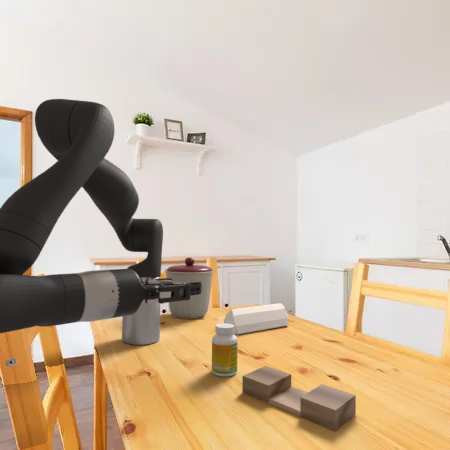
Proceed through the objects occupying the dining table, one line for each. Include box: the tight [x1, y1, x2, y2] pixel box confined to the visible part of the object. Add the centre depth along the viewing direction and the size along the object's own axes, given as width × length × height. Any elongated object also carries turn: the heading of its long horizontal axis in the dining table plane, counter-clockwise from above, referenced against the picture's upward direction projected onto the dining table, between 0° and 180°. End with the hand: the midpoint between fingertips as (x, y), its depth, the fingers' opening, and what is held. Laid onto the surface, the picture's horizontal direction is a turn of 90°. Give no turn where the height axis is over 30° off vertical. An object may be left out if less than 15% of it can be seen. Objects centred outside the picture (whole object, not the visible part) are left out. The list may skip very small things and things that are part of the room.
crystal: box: [223, 302, 290, 336], centre depth 109 cm, size 7×7×24 cm
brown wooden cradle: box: [241, 365, 357, 432], centre depth 59 cm, size 7×18×3 cm, turn 46°
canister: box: [164, 257, 215, 320], centre depth 125 cm, size 18×18×21 cm
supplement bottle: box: [211, 322, 239, 378], centre depth 73 cm, size 5×5×10 cm
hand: (185, 285), depth 65 cm, fingers open, 8 cm apart
